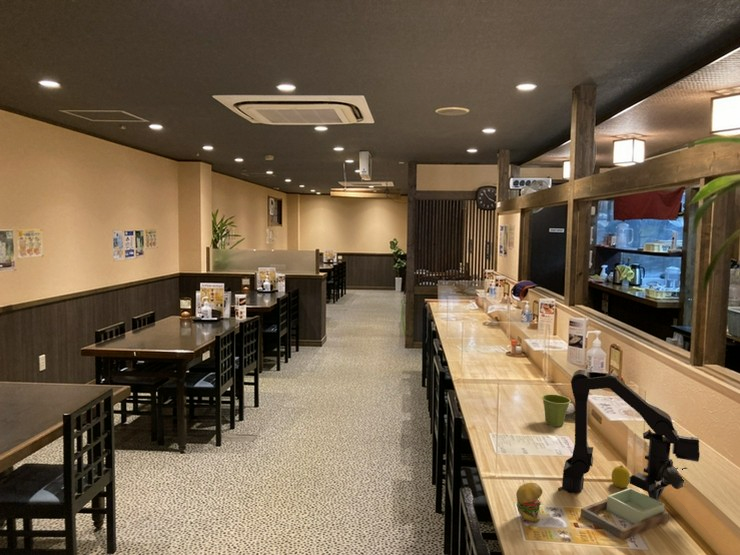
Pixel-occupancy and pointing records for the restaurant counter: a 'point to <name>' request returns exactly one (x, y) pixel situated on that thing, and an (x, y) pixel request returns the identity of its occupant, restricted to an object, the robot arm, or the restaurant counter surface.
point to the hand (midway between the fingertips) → (654, 503)
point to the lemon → (620, 477)
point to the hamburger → (529, 501)
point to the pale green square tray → (633, 505)
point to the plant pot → (555, 409)
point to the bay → (617, 531)
